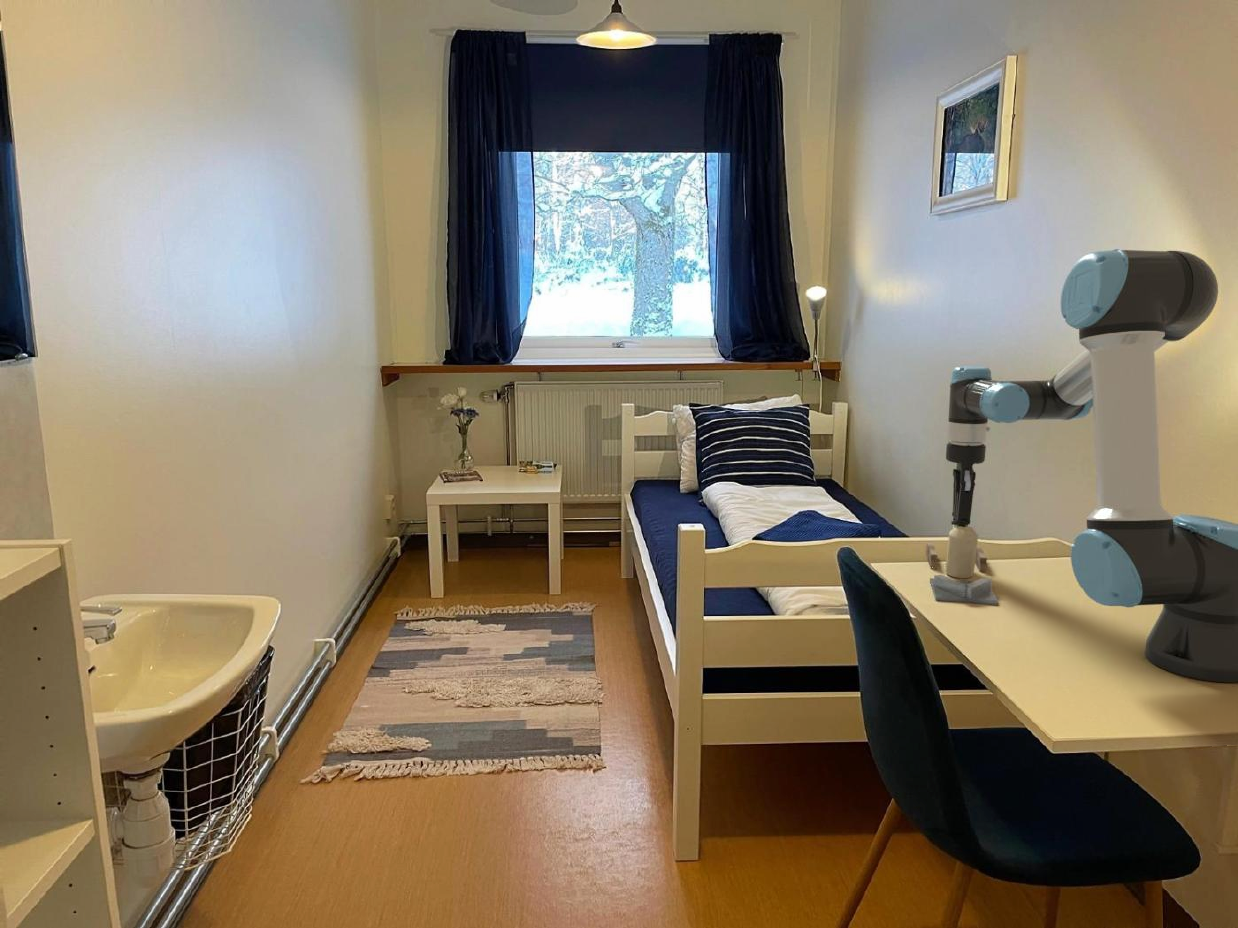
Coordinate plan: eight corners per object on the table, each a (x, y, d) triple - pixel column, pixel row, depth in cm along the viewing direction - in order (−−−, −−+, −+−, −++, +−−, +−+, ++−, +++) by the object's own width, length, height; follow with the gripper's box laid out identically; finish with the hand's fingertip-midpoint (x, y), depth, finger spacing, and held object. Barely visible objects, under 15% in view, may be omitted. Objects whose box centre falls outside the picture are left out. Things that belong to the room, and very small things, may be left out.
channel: (985, 571, 194) (986, 557, 193) (930, 568, 196) (931, 554, 196) (978, 558, 204) (979, 544, 203) (925, 554, 206) (926, 541, 205)
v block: (997, 604, 175) (998, 590, 174) (935, 600, 177) (936, 586, 176) (988, 586, 185) (989, 572, 185) (929, 582, 187) (930, 568, 187)
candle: (969, 567, 195) (974, 522, 191) (976, 578, 189) (982, 533, 186) (942, 566, 195) (946, 522, 192) (948, 578, 190) (953, 532, 187)
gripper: (991, 448, 185) (982, 564, 189) (980, 438, 197) (972, 546, 202) (950, 446, 186) (943, 561, 191) (943, 437, 199) (936, 544, 203)
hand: (958, 554), depth 196 cm, fingers closed
